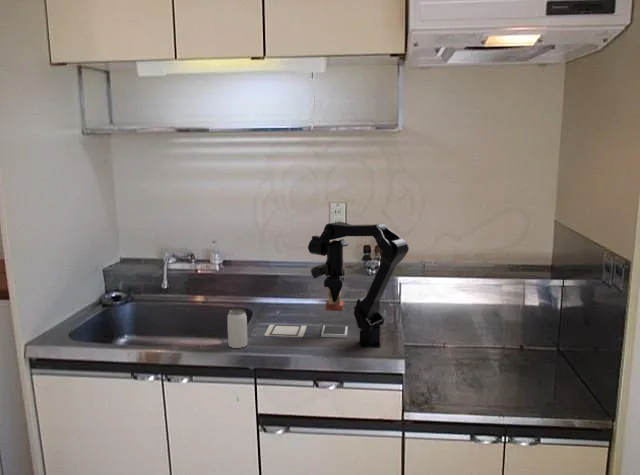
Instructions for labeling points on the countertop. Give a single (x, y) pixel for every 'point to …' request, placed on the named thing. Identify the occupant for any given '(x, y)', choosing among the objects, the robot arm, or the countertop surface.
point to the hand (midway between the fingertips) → (334, 300)
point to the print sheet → (285, 330)
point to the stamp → (334, 303)
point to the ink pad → (334, 331)
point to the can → (237, 328)
